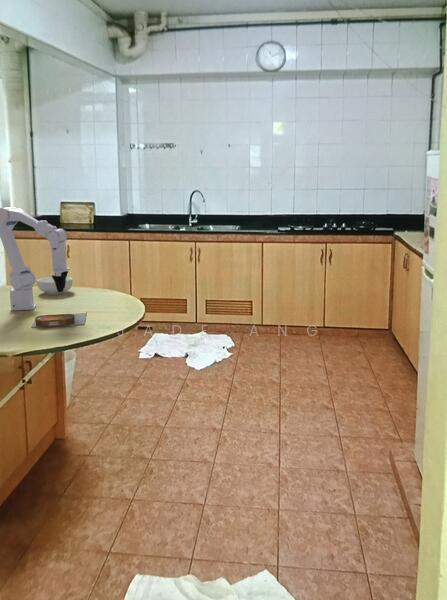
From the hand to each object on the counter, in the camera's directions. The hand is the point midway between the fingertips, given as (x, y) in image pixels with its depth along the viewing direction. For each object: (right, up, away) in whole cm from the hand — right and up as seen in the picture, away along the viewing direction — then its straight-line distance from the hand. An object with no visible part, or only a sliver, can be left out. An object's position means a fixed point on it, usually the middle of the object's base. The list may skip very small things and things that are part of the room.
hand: (61, 289), depth 254 cm
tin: (+2, -11, -15) cm, 19 cm away
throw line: (+1, -10, -3) cm, 11 cm away
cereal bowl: (-13, -1, +39) cm, 41 cm away
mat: (+3, -13, -13) cm, 18 cm away
